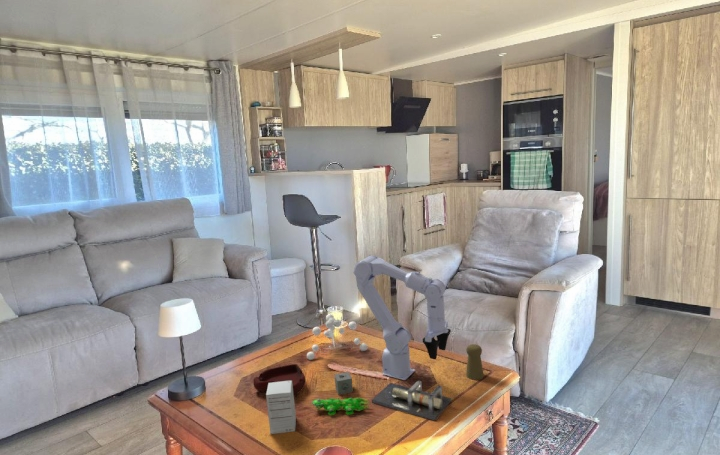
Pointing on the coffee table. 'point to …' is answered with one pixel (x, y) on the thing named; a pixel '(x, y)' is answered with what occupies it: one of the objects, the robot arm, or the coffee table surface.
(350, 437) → the coffee table surface
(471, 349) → the cork
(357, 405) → the green bumpy long piece
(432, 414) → the collar base
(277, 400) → the supplement box
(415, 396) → the brass tube
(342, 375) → the dice cube
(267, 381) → the ashtray
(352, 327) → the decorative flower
